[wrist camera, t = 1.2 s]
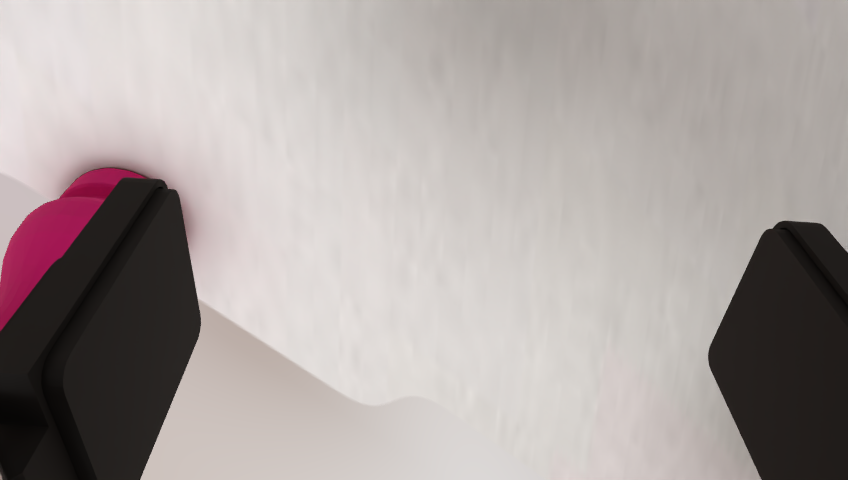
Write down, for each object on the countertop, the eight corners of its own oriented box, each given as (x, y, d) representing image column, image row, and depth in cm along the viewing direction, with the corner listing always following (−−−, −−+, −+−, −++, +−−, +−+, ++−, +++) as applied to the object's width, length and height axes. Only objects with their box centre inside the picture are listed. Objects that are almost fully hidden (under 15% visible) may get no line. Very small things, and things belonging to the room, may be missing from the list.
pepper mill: (159, 287, 39) (-49, 657, 22) (39, 223, 36) (-292, 587, 20) (216, 208, 35) (21, 575, 19) (88, 132, 33) (-261, 480, 17)
